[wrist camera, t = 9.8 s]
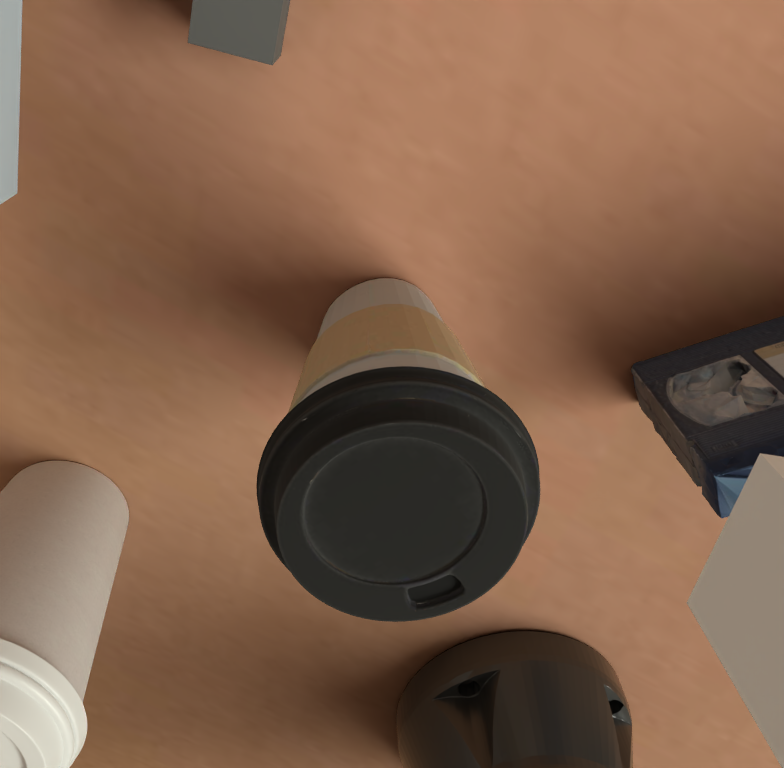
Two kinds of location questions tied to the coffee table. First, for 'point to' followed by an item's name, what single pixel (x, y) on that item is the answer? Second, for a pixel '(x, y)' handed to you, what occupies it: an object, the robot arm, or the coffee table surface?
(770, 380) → the vhs cassette tape
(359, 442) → the coffee cup
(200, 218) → the coffee table surface
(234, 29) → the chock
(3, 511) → the coffee cup
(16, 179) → the beam
